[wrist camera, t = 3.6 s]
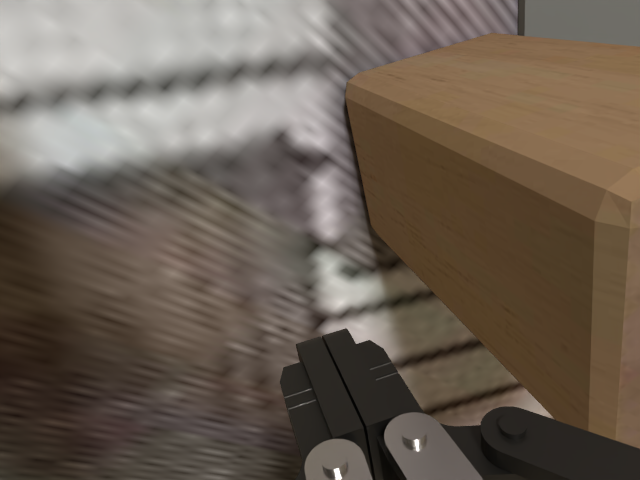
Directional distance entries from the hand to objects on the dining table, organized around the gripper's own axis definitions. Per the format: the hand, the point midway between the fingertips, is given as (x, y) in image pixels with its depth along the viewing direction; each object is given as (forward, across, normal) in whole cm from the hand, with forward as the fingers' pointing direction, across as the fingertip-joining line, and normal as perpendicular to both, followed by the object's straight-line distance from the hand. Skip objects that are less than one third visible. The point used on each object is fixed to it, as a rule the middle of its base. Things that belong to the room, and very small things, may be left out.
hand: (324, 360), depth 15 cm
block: (+17, -12, 0) cm, 20 cm away
